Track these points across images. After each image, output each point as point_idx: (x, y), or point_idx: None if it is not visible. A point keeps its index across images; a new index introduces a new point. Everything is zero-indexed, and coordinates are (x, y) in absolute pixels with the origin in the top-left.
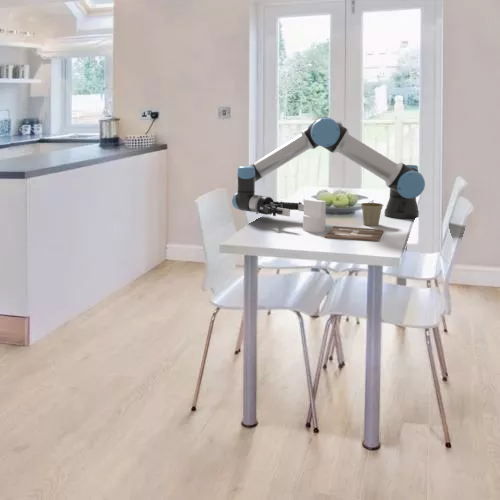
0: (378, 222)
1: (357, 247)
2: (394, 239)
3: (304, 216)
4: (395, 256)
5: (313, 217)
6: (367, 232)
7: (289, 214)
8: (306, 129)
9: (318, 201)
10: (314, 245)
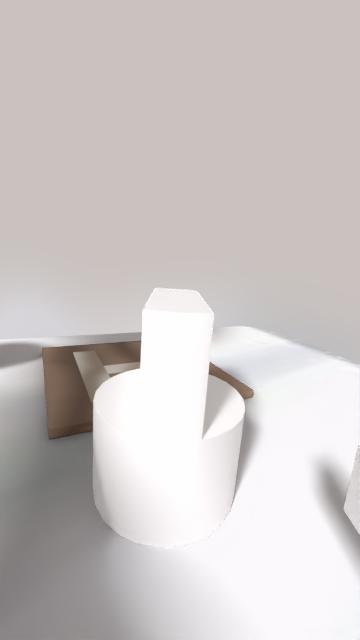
0: None
1: (252, 348)
2: (129, 336)
3: (243, 418)
4: (243, 326)
5: (224, 382)
6: (112, 355)
7: (354, 493)
8: None
9: (196, 293)
10: (343, 383)
